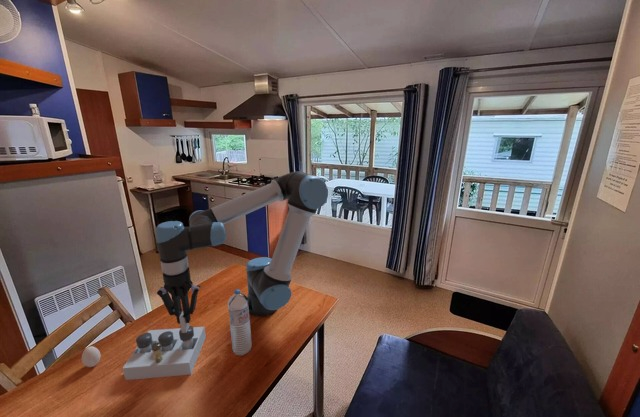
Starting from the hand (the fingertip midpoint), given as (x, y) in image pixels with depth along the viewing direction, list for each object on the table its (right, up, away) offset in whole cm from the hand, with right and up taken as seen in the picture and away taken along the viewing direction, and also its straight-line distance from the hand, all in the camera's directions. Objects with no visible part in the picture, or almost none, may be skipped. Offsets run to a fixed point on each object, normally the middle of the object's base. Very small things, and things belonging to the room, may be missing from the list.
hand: (185, 329), depth 89 cm
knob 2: (0, -7, +2) cm, 8 cm away
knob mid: (-7, -9, +2) cm, 12 cm away
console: (-7, -11, +3) cm, 13 cm away
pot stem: (-6, -8, -5) cm, 11 cm away
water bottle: (+18, -10, +6) cm, 21 cm away
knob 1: (-14, -9, +1) cm, 17 cm away
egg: (-31, -12, -1) cm, 33 cm away
